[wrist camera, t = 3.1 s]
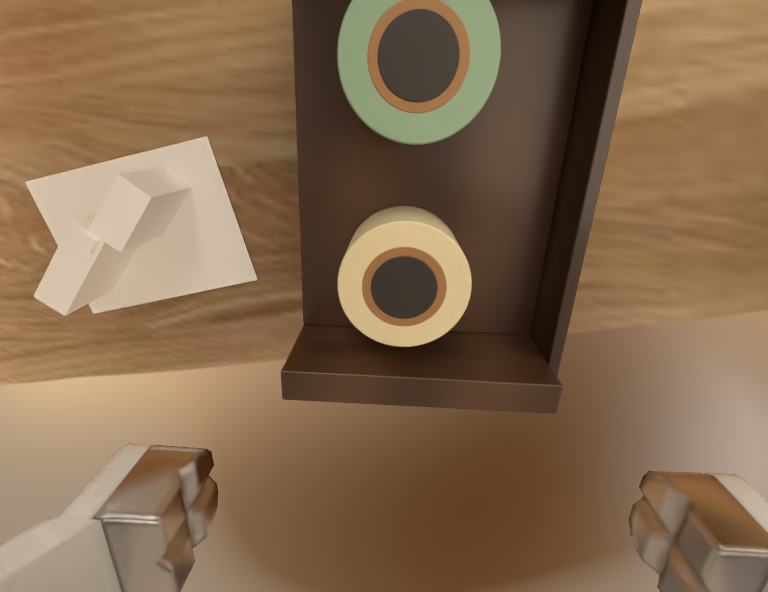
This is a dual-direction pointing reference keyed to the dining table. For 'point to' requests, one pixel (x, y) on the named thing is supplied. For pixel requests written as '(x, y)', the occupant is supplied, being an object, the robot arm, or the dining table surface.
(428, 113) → the sage tape roll
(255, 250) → the dining table surface
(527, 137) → the shelf
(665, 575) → the robot arm
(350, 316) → the cream tape roll
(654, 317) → the dining table surface
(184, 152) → the napkin holder
